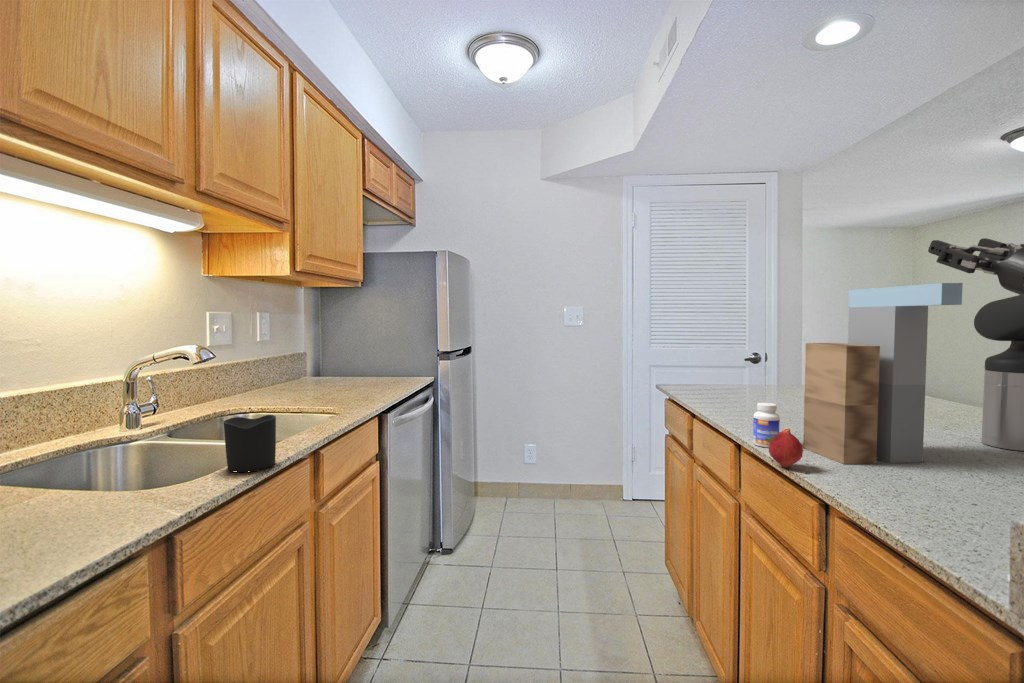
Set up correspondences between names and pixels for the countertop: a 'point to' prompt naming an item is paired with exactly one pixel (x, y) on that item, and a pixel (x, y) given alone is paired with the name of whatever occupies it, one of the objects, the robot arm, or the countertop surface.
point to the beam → (908, 295)
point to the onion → (785, 448)
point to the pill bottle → (765, 424)
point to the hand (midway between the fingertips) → (955, 244)
